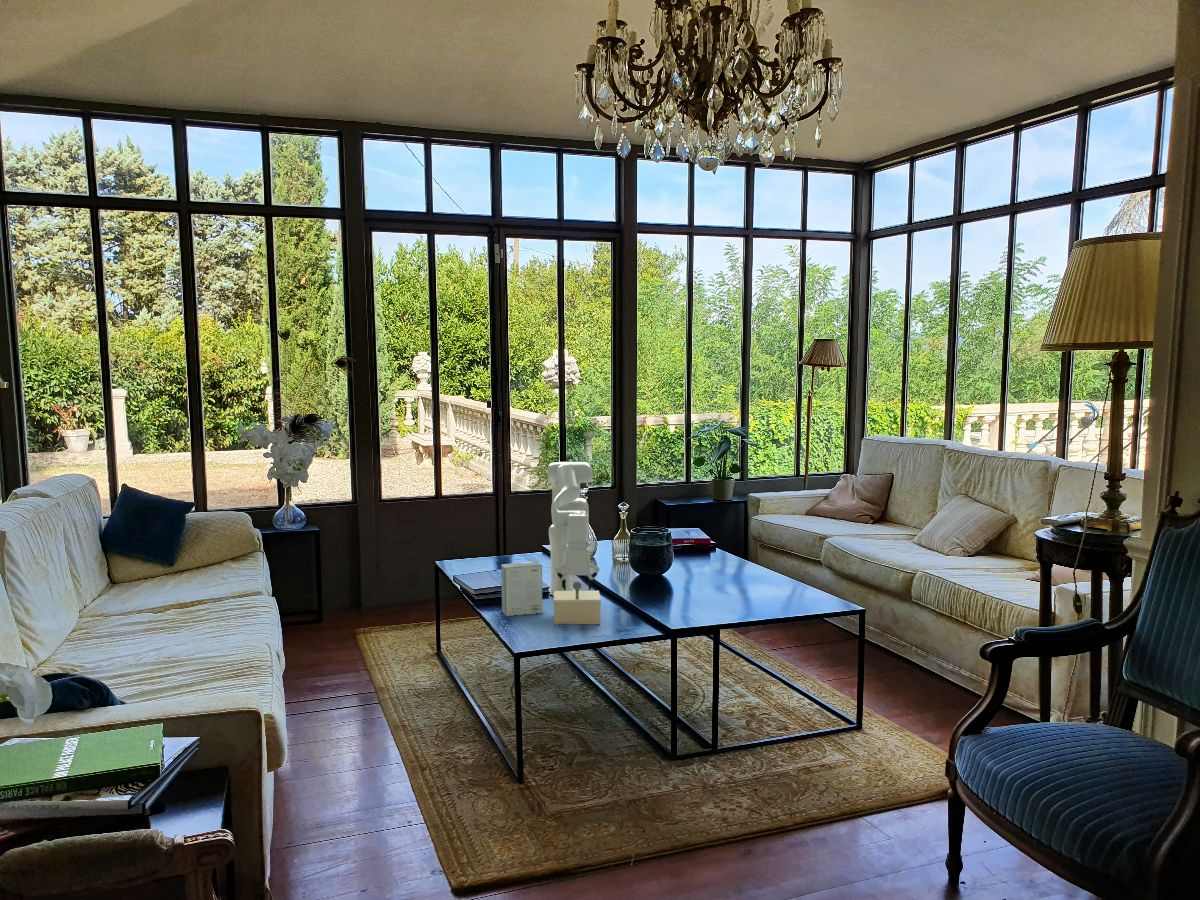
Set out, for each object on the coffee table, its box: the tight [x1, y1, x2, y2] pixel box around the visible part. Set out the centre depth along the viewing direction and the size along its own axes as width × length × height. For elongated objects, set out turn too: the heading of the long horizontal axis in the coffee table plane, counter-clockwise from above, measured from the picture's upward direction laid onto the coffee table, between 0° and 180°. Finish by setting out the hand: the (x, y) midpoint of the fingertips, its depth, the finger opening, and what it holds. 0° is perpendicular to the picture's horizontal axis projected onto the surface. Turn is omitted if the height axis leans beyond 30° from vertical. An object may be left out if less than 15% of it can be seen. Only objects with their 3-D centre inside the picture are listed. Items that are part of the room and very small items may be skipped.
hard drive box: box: [500, 561, 544, 617], centre depth 342 cm, size 16×8×20 cm, turn 108°
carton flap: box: [553, 581, 602, 603], centre depth 332 cm, size 14×18×8 cm
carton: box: [553, 601, 602, 625], centre depth 333 cm, size 14×18×9 cm
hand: (577, 589), depth 326 cm, fingers open, 9 cm apart
